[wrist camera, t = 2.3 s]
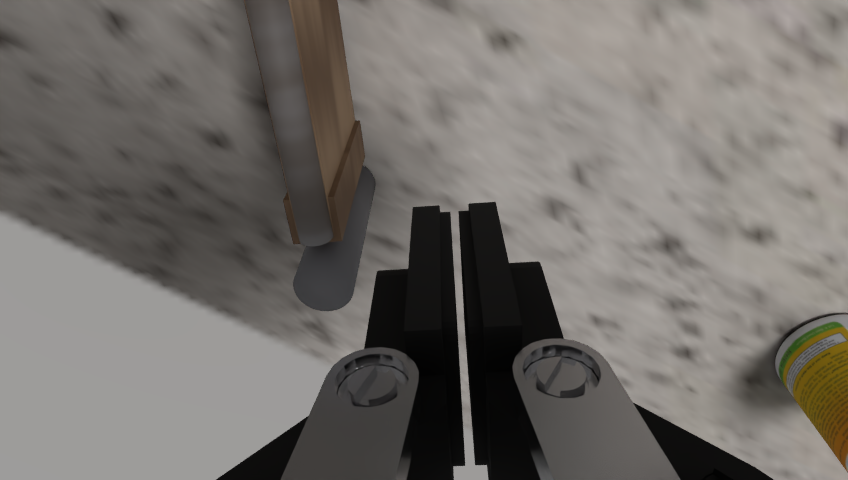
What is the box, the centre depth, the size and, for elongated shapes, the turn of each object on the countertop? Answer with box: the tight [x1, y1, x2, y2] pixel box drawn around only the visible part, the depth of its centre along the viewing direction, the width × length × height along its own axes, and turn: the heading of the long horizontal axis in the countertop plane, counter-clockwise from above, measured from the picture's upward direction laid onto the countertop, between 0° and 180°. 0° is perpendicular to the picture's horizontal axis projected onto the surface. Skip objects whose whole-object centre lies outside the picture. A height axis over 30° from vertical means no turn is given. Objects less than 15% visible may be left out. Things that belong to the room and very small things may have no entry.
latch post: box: [293, 166, 375, 311], centre depth 22 cm, size 2×2×8 cm
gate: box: [244, 0, 365, 246], centre depth 18 cm, size 10×2×8 cm, turn 4°
